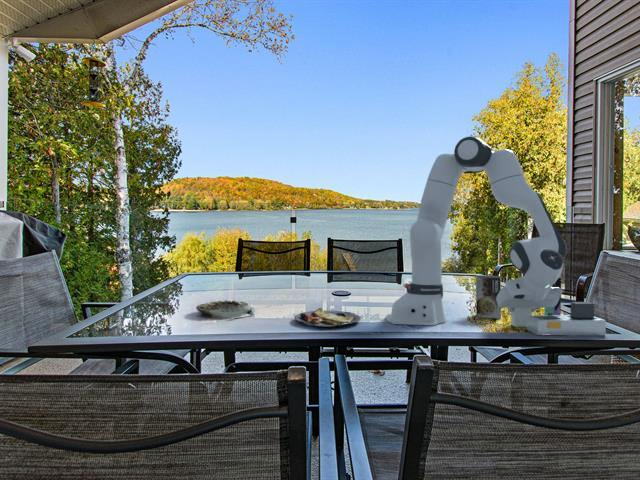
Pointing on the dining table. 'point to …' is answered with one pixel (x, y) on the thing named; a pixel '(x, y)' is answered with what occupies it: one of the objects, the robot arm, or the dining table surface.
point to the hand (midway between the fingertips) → (520, 310)
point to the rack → (568, 322)
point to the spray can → (557, 309)
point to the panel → (520, 316)
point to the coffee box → (487, 296)
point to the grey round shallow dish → (224, 309)
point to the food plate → (327, 318)
